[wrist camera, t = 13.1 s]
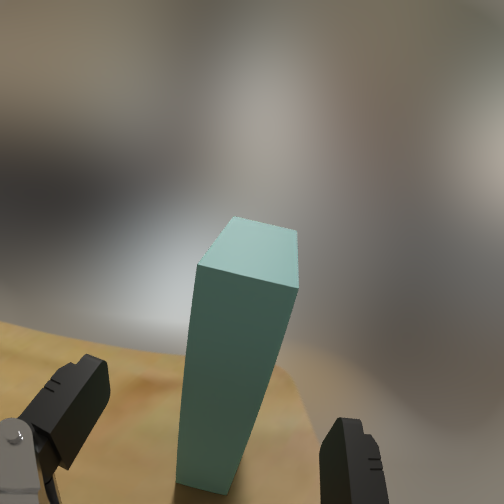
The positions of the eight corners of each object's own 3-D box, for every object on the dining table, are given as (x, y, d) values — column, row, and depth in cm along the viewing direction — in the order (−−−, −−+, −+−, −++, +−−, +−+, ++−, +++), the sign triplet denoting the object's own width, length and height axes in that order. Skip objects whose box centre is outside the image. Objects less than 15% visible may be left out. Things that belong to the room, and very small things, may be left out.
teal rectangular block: (175, 482, 14) (197, 264, 9) (199, 413, 20) (233, 216, 15) (226, 495, 14) (298, 288, 9) (241, 424, 20) (296, 230, 15)
